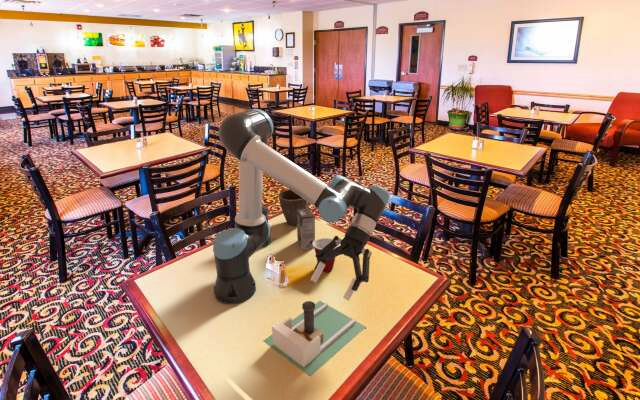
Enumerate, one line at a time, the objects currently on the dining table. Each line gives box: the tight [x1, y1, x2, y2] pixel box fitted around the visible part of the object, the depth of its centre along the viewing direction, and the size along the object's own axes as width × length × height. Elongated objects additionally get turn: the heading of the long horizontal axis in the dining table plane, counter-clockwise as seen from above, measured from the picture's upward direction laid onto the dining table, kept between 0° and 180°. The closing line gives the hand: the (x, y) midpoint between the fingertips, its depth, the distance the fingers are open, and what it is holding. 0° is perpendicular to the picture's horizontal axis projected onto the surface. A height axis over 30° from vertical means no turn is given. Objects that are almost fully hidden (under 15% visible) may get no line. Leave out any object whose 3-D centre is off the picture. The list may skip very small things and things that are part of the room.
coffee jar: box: [261, 205, 272, 247], centre depth 169 cm, size 10×8×19 cm
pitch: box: [262, 300, 367, 377], centre depth 116 cm, size 20×26×2 cm
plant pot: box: [277, 189, 309, 227], centre depth 188 cm, size 15×15×16 cm
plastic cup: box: [312, 237, 340, 273], centre depth 150 cm, size 11×11×12 cm
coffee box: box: [296, 207, 316, 251], centre depth 168 cm, size 9×6×16 cm
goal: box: [271, 316, 321, 367], centre depth 109 cm, size 13×7×7 cm, turn 48°
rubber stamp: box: [295, 300, 323, 343], centre depth 112 cm, size 8×4×12 cm, turn 48°
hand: (328, 290), depth 115 cm, fingers open, 13 cm apart
